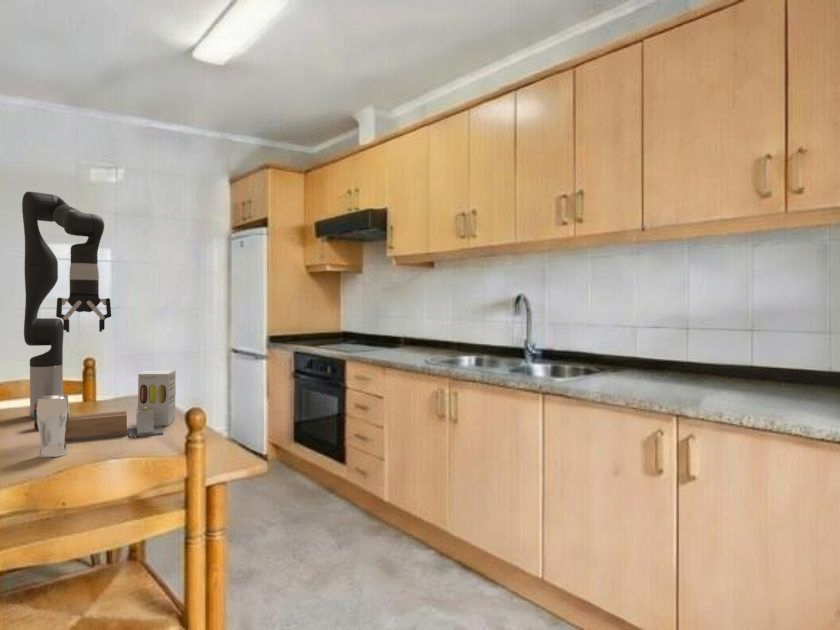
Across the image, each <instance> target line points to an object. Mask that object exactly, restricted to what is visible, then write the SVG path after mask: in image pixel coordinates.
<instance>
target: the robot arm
mask: <svg viewBox="0 0 840 630" xmlns="http://www.w3.org/2000/svg"><path fill="white" fill-rule="evenodd" d="M21 202H22V203H21V209H22V210H21V211H22V221H23V233H24V288H25V289H24V291H25V306H24V307H25V308H24V320H23V321H24V323H23V339H24V343H25V344H26V345H27V346H30V347H33V346H35V347H36V346H37V347H38V346H44V347H45V346H50V348H49V349H48V350H47V351H45V352H44V353H42V354H39V355H35V356H33V357H31V358H30V359H29V418H31V419H34V405H35V404H36V403H37V398H38V397H42V396H48V395H64V392H63V391H64V386H63V385H64V383H63V381H64V379H63V378H64V377H63V376H64V373H63V371H64V370H63V366H64V365H63V362H64V361H63V359H64V358H63V355H64V354H63V353H64V352H63V349H64V348H63V347H64V331H65V332H66V333H70V319H69V318H70V317H71V316H72V315H73V314H74V313H75V312H77V313H83V312H86V313H91V312H94V313H95V314H96V316H97V317H99V320H98V323H99V325H98V328H99V329H98V331H99V333H102V332H103V331H104V330H105V327H106V326H105V325H106V324H105V320H107V319H109V318H111V317H112V306H111V298H109V297H107V298H100V296H99V295H100V293H99V291H100V290H99V289H100V288H99V283H100V282H99V280H100V275H99V265H98V263H99V262H98V259H99V258H98V252H99V247H100V242H101V239H102V237H103V233H104V230H105V222H104V219H103V218H102V217H101V216H100V215H99V214H94V213H88V212H87V213H85V212H82V211H81V210H80V209H77V208H75V207H72V206H70V205H69V204H68V203H67V202H66V201H65V200H64V199H62V198H61V197H60V196H58V195H55V194H50V193H45V192H36V191H25V192H24V194H23V196H22V201H21ZM38 221H41V222H42V221H43V222H51V223H53V222H55V223H56V224H57V225H58V226H59V227H62V228H63V230H64V232H65V233H66V234H68V235H71V236H77V237H87V240H86V241H85V242H83V243H74V244H72V245H71V247H70V266H69V296H68V298H67V297H66V298H64V297H57V299H56V311H55V312H56V313H55V317H56V318H50V317H49V318H44V317H43V318H42V317H41V318H38V313H39V310H40V308H41V305H42V303H43V302H44V300H45V299H46V298H47V296H48V295H49V293H50V292H51V291H52V290H53V288H55V286H56V284H57V282H58V279H59V266H58V265H59V264H58V263H59V262H58V259H57V256H56V255H55V253H54V251H52V250H53V249H51V247H50V246H49V245H48V244H47V243H46V241H45V239H44V238H43V236H42V234H41V232H40V228H39V222H38ZM66 303H68V304H69V305H70V306H71V308H70V309H69V310H68V311H67V312H66V313H65V314H63V306H64V305H66ZM100 303H102V305H103V306H105V307H106V310H105V311H106V314H103V313H102V312H101V310H100V309H98V306H99V304H100Z"/></svg>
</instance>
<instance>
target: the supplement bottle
mask: <svg viewBox="0 0 840 630" xmlns="http://www.w3.org/2000/svg"><path fill="white" fill-rule="evenodd" d="M38 398H39V397H38ZM38 398H37V401H38ZM33 426H34V427H33V428H34V429H35V430H39V429H38V424H37V403H36V404H35V405H34V418H33Z"/></svg>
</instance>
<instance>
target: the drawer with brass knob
mask: <svg viewBox="0 0 840 630" xmlns="http://www.w3.org/2000/svg"><path fill="white" fill-rule="evenodd" d="M135 413H136V415H135V416H136V417H135V418H136V419H135V420H136V424H135V426H136V427H135V428H136V429H137V434H145V433H154V411H153V408H148V407H142V409H138V408H136V412H135Z"/></svg>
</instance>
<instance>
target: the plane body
mask: <svg viewBox="0 0 840 630" xmlns="http://www.w3.org/2000/svg"><path fill="white" fill-rule="evenodd" d="M127 417H128V414H127V411H126V410H122V411H109V412H96V413H85V414H83V413H82V414H71V415H70V414H69V421H68V426H67V431H66V439H65V441H66V443H67V442H75V441H76V442H77V441H84V440H85V441H86V440H94V439H95V438H97V439H105V438H106V437H107V438H115V436H117V437H124V436H123V435H127V436H129V434H128V428H127V427H128V422H127V421H128V420H127V419H128V418H127Z"/></svg>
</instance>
